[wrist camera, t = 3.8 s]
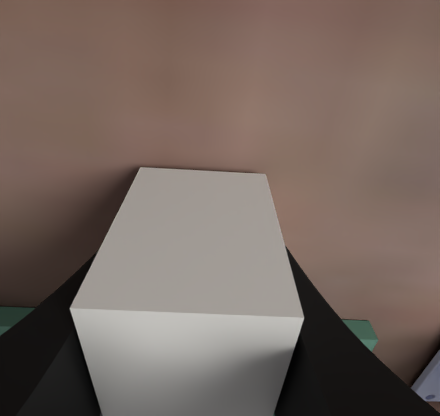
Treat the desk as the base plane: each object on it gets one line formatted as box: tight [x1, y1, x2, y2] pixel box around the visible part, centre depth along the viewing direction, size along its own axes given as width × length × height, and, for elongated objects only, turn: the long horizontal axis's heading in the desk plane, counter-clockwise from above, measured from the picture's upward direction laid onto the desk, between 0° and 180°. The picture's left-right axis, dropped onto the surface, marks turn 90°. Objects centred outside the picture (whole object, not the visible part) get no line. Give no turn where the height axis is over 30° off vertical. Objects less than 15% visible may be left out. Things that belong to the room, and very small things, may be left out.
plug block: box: [70, 167, 304, 416], centre depth 9 cm, size 4×5×6 cm
